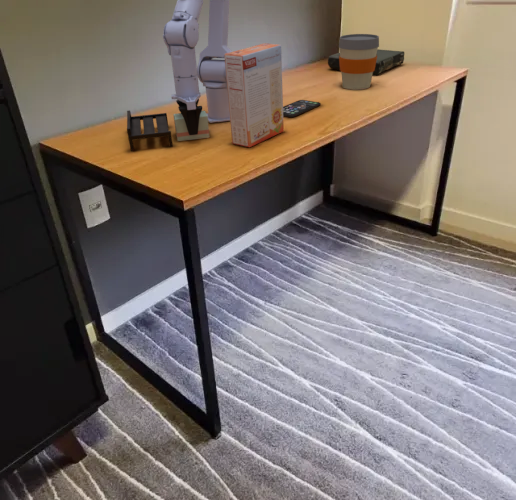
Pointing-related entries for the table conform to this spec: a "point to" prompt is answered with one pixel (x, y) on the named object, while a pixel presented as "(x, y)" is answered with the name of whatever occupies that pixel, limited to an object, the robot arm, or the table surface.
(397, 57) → the network switch
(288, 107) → the smartphone
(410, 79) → the table surface
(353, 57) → the reusable coffee cup
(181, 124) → the tissue box
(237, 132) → the cracker box
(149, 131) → the rack
